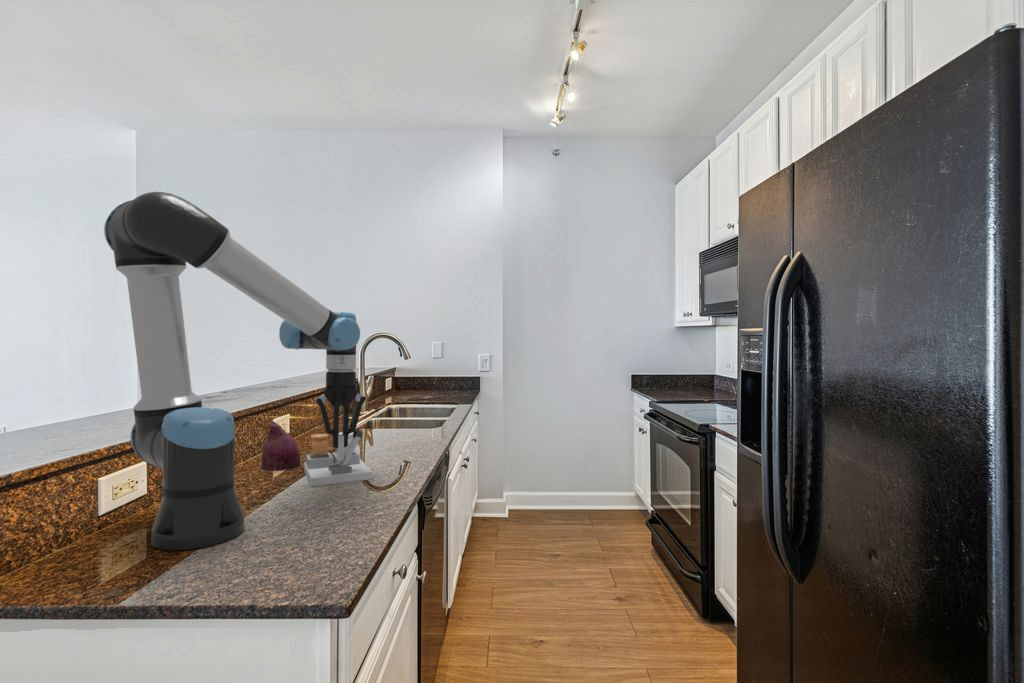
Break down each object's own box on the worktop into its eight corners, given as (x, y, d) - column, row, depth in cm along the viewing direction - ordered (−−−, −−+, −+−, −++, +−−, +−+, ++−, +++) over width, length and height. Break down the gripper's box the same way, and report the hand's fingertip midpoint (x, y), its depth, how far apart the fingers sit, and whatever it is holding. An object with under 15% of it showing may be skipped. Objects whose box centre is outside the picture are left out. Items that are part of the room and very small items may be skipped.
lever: (338, 467, 135) (356, 429, 137) (336, 464, 138) (354, 427, 140) (347, 470, 136) (365, 433, 138) (345, 468, 139) (363, 431, 141)
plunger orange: (311, 455, 140) (311, 437, 140) (309, 452, 144) (309, 434, 144) (329, 454, 142) (329, 436, 142) (327, 450, 146) (327, 433, 146)
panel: (311, 486, 130) (311, 468, 130) (304, 469, 146) (304, 453, 146) (372, 479, 137) (372, 462, 137) (358, 463, 153) (358, 448, 153)
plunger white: (338, 453, 143) (338, 435, 143) (336, 450, 147) (336, 432, 147) (355, 451, 145) (355, 433, 145) (352, 448, 149) (352, 431, 149)
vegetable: (276, 483, 143) (267, 434, 139) (255, 473, 149) (246, 425, 144) (309, 466, 152) (302, 420, 147) (288, 457, 157) (280, 412, 153)
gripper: (317, 372, 130) (316, 465, 131) (369, 371, 136) (367, 460, 137) (313, 370, 137) (312, 458, 138) (363, 369, 143) (362, 454, 143)
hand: (340, 459), depth 137 cm, fingers closed
